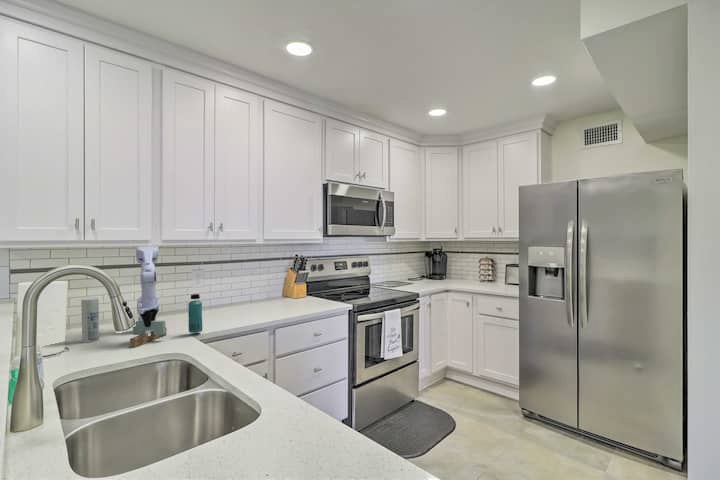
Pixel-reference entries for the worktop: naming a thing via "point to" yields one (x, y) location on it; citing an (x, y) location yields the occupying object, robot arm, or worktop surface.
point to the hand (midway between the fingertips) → (149, 326)
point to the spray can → (90, 319)
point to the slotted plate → (156, 326)
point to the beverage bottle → (195, 315)
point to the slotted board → (144, 339)
